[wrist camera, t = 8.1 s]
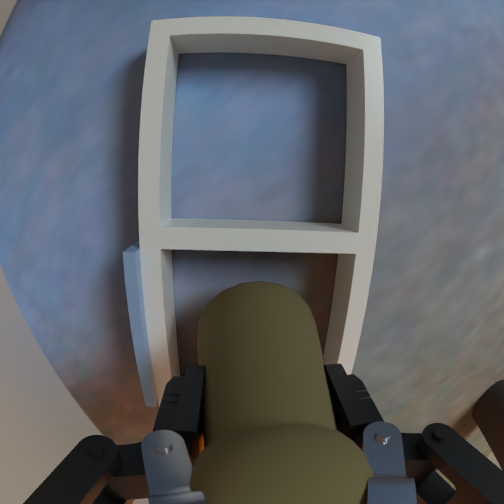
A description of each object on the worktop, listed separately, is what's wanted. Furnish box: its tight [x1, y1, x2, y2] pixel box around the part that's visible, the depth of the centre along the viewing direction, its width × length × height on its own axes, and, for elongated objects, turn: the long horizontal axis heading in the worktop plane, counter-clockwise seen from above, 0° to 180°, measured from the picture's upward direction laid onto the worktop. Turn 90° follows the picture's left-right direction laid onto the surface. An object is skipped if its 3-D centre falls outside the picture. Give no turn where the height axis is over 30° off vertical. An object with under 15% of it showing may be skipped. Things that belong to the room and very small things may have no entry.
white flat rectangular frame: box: [123, 17, 384, 408], centre depth 14 cm, size 21×12×3 cm, turn 178°
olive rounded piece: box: [190, 281, 374, 504], centre depth 10 cm, size 6×6×11 cm
